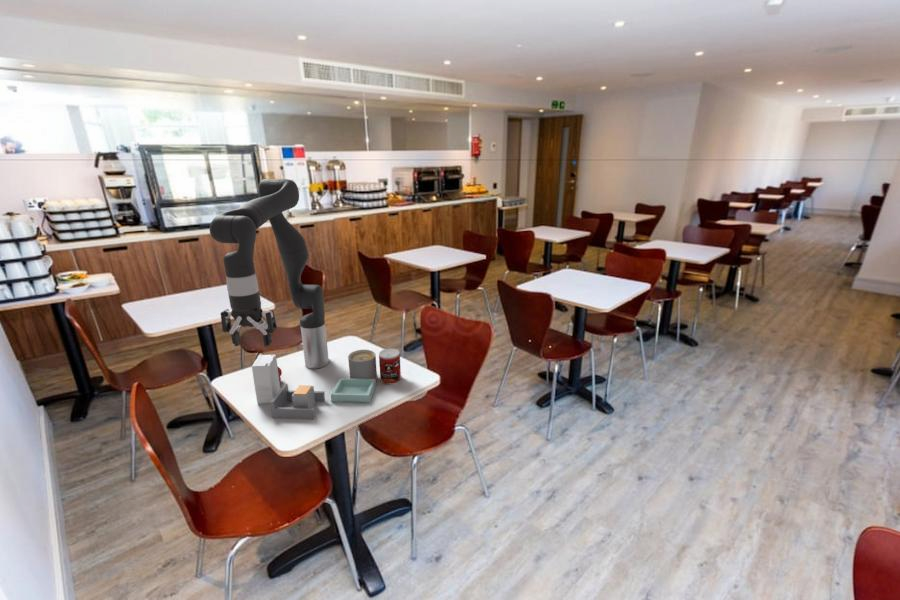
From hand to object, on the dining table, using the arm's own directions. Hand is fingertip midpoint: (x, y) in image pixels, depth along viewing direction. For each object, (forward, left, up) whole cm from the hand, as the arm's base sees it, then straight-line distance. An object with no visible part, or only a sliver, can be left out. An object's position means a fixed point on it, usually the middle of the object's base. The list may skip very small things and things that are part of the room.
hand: (252, 345), depth 118 cm
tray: (-23, +21, -29) cm, 43 cm away
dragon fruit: (-29, -12, -30) cm, 43 cm away
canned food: (-34, +32, -30) cm, 55 cm away
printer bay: (-13, +5, -29) cm, 32 cm away
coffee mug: (-35, +21, -30) cm, 50 cm away
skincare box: (-19, -8, -30) cm, 36 cm away
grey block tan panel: (-13, +7, -29) cm, 33 cm away
